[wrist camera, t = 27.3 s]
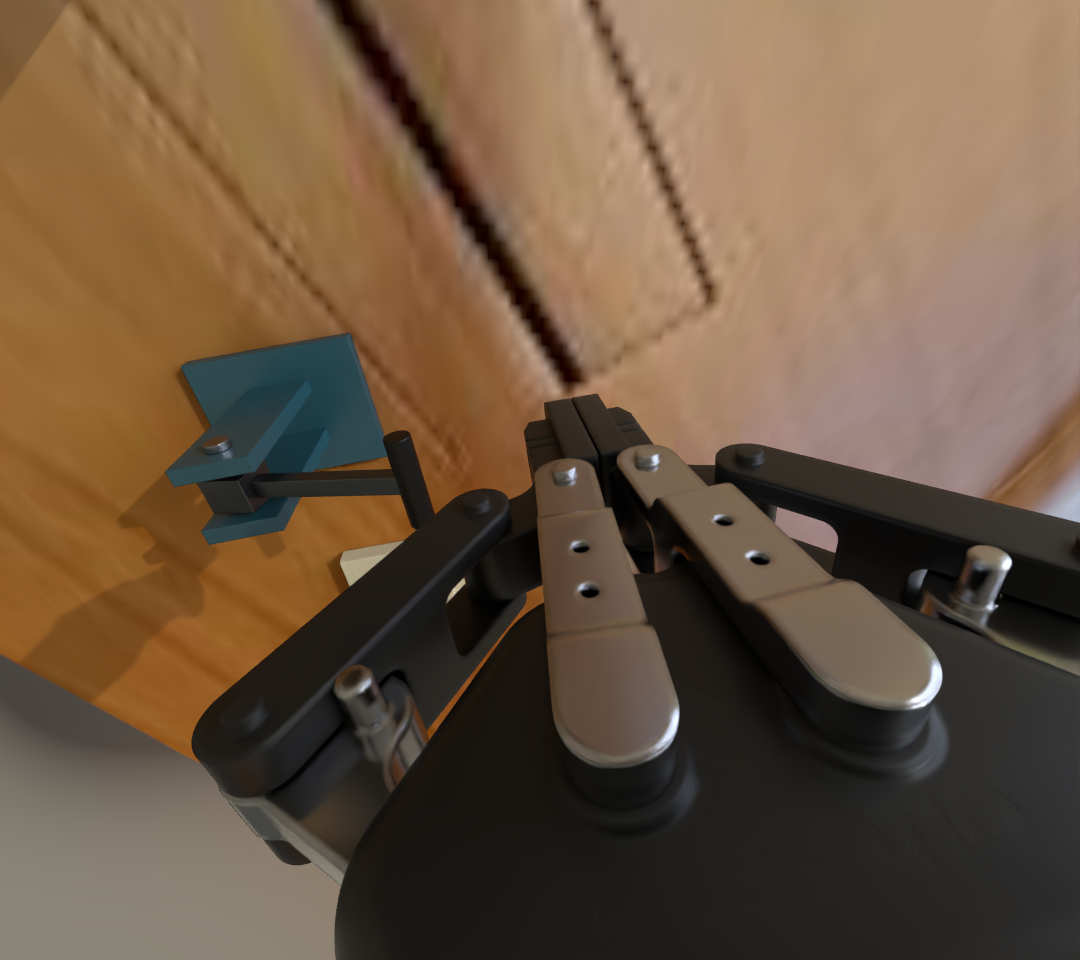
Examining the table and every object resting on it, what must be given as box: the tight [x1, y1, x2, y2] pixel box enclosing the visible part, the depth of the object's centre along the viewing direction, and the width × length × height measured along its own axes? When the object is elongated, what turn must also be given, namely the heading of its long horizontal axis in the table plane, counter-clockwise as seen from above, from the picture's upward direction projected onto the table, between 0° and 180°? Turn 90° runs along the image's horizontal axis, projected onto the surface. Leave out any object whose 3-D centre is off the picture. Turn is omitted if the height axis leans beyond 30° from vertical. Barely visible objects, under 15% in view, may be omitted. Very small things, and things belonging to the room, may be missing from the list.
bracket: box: [165, 333, 387, 545], centre depth 35 cm, size 12×10×14 cm
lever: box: [197, 430, 435, 529], centre depth 29 cm, size 13×6×2 cm, turn 98°
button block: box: [340, 541, 465, 603], centre depth 49 cm, size 12×9×4 cm
